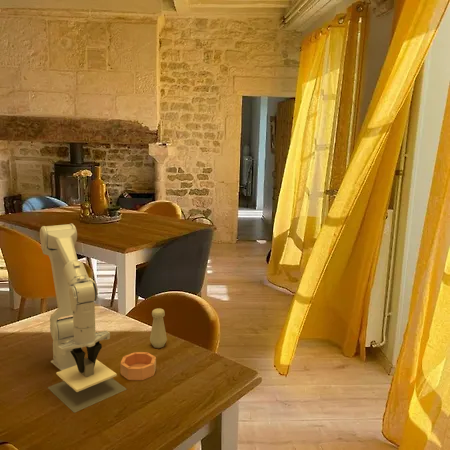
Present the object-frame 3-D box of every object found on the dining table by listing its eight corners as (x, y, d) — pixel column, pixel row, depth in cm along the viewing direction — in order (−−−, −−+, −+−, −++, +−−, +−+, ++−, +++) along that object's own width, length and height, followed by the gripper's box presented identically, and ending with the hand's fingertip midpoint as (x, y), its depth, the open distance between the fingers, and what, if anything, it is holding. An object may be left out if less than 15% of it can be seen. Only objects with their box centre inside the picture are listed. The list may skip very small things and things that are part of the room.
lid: (56, 374, 128) (55, 361, 127) (95, 360, 136) (94, 347, 135) (76, 392, 120) (76, 378, 119) (116, 375, 128) (116, 362, 127)
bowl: (115, 371, 139) (114, 359, 138) (142, 360, 146) (142, 349, 145) (134, 385, 132) (133, 372, 131) (161, 372, 139) (161, 360, 138)
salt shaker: (163, 350, 153) (163, 314, 150) (147, 348, 154) (147, 312, 151) (169, 342, 158) (169, 307, 155) (153, 340, 159) (153, 305, 157)
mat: (47, 388, 129) (47, 387, 129) (98, 368, 140) (98, 367, 140) (74, 414, 118) (74, 412, 118) (127, 390, 129) (127, 389, 129)
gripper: (66, 337, 117) (68, 384, 120) (115, 321, 127) (116, 365, 130) (53, 328, 122) (56, 374, 125) (102, 313, 132) (103, 356, 135)
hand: (86, 369), depth 128 cm, fingers closed on lid, 2 cm apart
